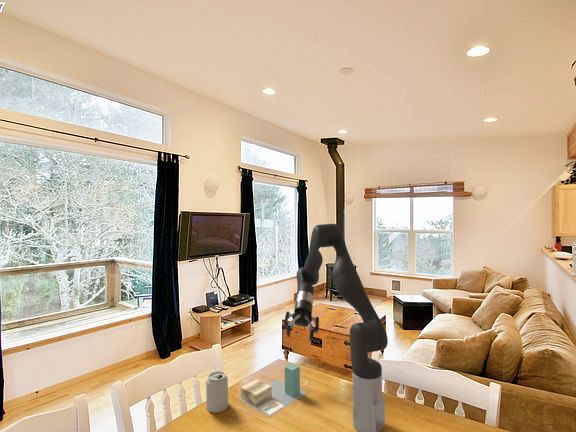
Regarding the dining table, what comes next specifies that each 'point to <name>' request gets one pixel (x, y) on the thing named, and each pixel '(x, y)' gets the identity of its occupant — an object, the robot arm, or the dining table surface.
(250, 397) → the base block
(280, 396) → the mat
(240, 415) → the dining table surface
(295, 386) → the pillar
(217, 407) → the can
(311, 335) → the robot arm
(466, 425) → the dining table surface
